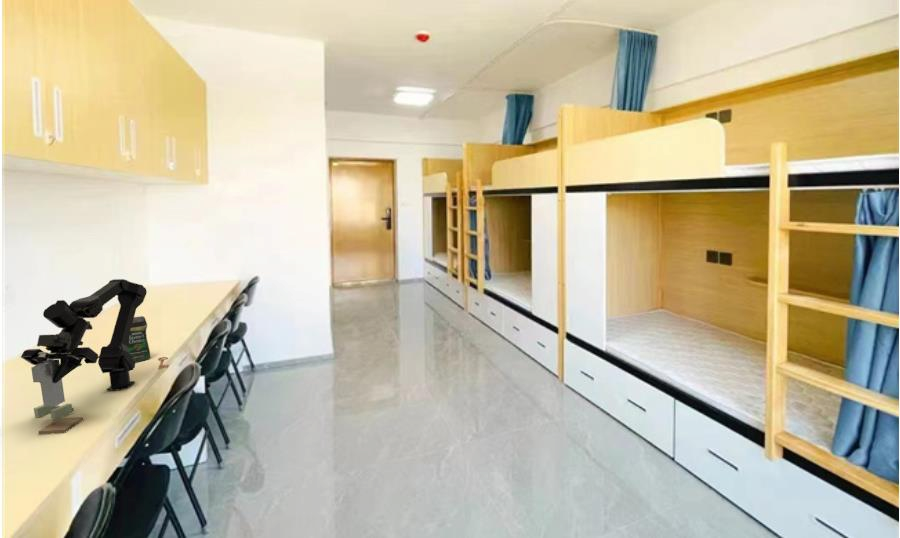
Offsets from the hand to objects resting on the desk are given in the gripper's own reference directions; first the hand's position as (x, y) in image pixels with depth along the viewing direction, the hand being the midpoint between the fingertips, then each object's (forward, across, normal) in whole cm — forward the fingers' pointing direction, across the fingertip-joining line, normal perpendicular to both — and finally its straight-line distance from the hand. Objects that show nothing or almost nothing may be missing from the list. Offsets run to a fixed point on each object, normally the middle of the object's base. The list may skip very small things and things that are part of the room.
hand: (47, 382), depth 133 cm
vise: (+4, -7, +16) cm, 18 cm away
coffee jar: (-33, -12, +52) cm, 63 cm away
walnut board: (+10, +2, +10) cm, 14 cm away
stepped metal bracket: (+5, 0, +5) cm, 7 cm away
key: (-29, +2, +49) cm, 57 cm away
